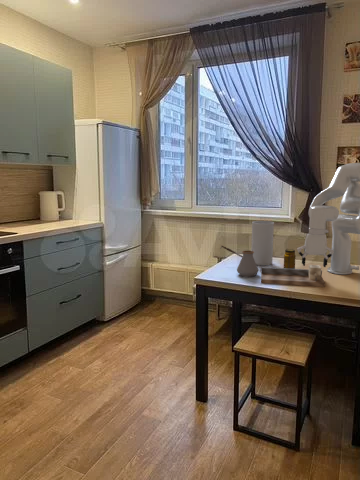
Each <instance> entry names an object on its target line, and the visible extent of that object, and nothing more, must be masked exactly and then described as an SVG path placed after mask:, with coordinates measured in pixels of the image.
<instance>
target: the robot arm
mask: <svg viewBox="0 0 360 480" xmlns="http://www.w3.org/2000/svg"><path fill="white" fill-rule="evenodd" d="M338 198H341V202H340V205H339V209H338V208H337V207H336V206H333V205H324V204H325V203H327V202H330V201H331V200H336V199H338ZM340 211H341V214H340ZM308 217H309V222H308V223H309V224H308V233H306V236H305V240H304V245H302V246H300V247H297V248H296V251H297V252H298V254H299V256H300V257H301V264H302V266H304V267H305V266H306V257H307V255H309V256H310V255H312V256H322V257H324V258H323V264H322V266H323V268H326V267H327V266H328V260H329V258H330V267H327V269H326V271H327V272H328V273H331V274H335V275H351V274H353V270H355V271H358V270H360V266H359V265H351V251H352V250H351V249H352V238H351V236H350V235H349V234H355V235H360V162H353V163H352V162H350V163H346V164H343V165H340V166H339V167H338V168H337V169H336V171H335V173H334V175H333V178H332V180H331V181H330V184H329V186H328V187H326V188H324V190H322V191H320V192H319V193H318V194H317V195H316V196H315V197H314V198H313V199H312V202H311V204H310V205H309V209H308ZM327 222H331V230H332V232H331V233H332V239H331V240H332V241H331V248H330V247H329V246H328V242H327V241H328V240H327V235H326V234H328V233H329V229H326V228H327V227H326V226H327V225H326V224H327ZM302 250H303V252H302ZM328 252H329V253H328ZM327 253H328V254H327Z"/></svg>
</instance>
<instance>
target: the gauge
mask: <svg viewBox="0 0 360 480" xmlns="http://www.w3.org/2000/svg"><path fill="white" fill-rule="evenodd" d="M308 270H309V273H308V276H309V279H312V280H315V281H317V280H320V278H321V270H322V267H321V265H320V264H308Z"/></svg>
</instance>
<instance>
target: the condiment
mask: <svg viewBox="0 0 360 480" xmlns="http://www.w3.org/2000/svg"><path fill="white" fill-rule="evenodd" d="M283 268H287V269H296V251H295V249H293V248H288V249H287V248H286V249H285V251H284V255H283Z"/></svg>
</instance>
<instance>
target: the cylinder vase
mask: <svg viewBox="0 0 360 480" xmlns="http://www.w3.org/2000/svg"><path fill="white" fill-rule="evenodd" d="M251 223H252V224H251V250H250V251H254V253H253V258H254V260H255V263H256V265H257V266H261V267H265V266H270V265H272V264H273V256H274V255H273V253H274V227H275V226H274V225H275V222H274V221H270V220H257V221H256V220H255V221H252V222H251Z"/></svg>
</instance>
